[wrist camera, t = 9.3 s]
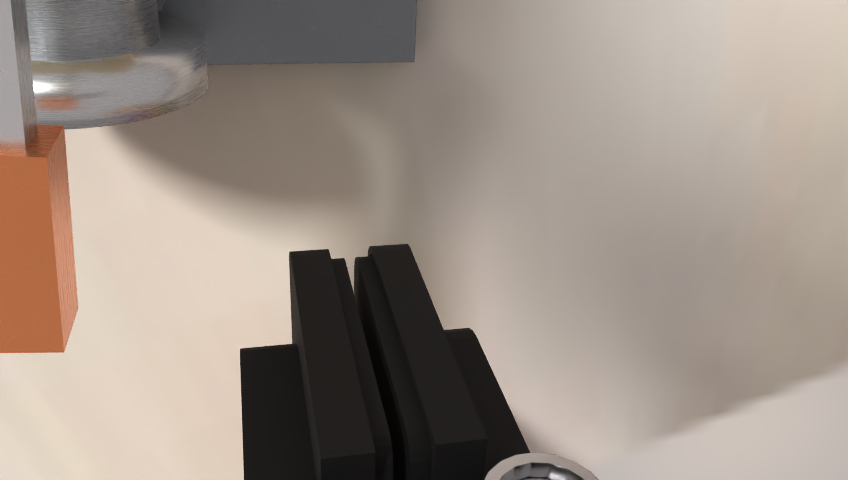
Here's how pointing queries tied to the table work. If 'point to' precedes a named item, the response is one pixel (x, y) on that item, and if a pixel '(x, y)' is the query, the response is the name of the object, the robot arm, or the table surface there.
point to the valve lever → (31, 207)
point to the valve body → (190, 48)
